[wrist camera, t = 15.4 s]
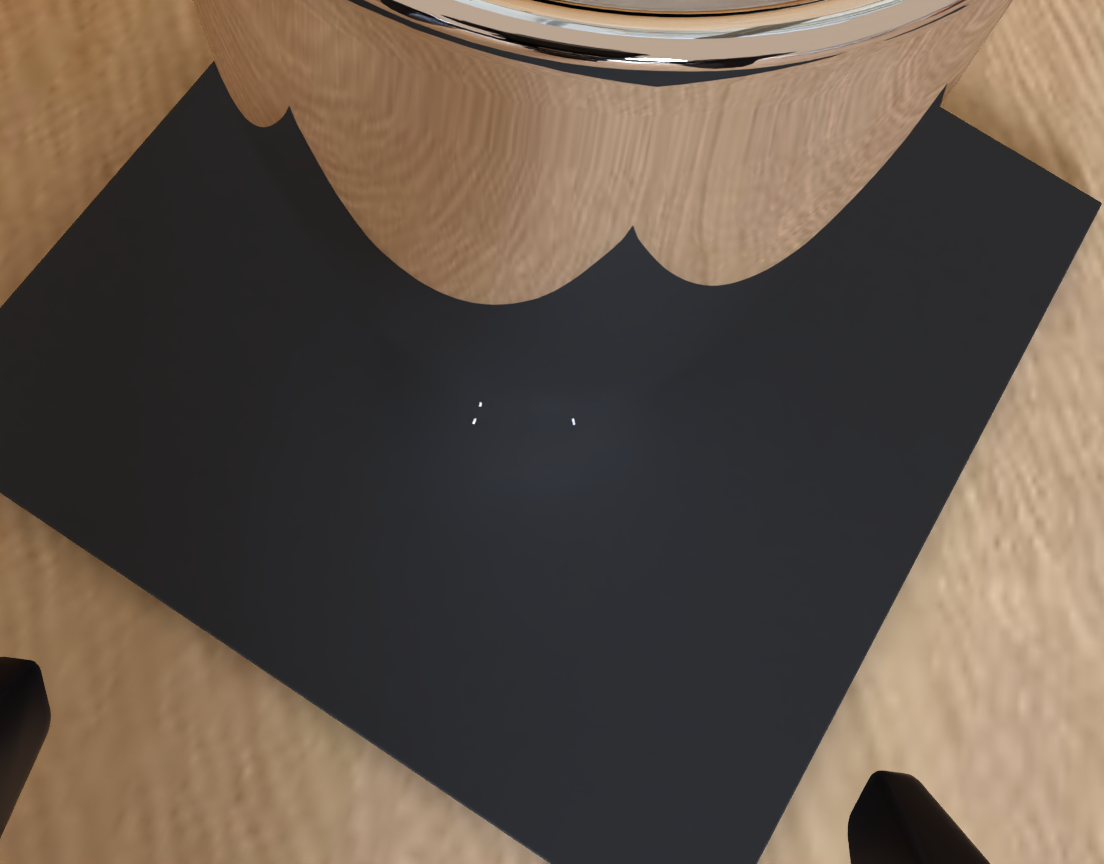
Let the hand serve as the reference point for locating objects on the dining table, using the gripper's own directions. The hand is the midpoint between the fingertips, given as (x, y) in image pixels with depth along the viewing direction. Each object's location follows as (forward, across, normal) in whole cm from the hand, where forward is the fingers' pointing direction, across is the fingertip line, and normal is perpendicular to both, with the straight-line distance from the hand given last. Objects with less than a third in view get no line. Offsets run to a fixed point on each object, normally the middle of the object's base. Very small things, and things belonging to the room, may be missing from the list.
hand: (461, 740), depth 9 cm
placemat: (+13, 0, 0) cm, 13 cm away
